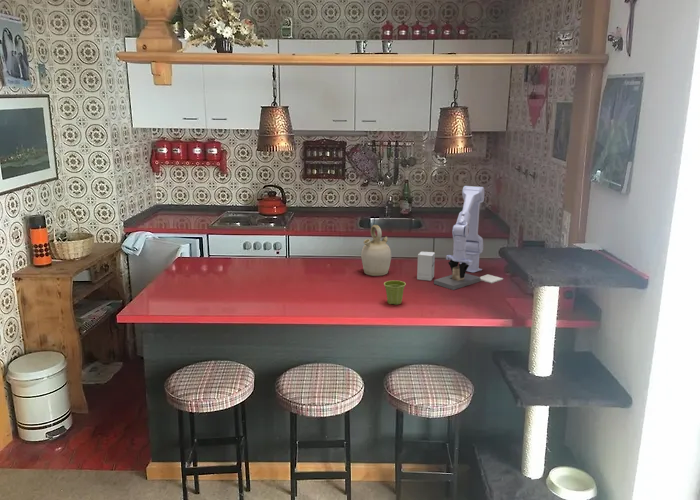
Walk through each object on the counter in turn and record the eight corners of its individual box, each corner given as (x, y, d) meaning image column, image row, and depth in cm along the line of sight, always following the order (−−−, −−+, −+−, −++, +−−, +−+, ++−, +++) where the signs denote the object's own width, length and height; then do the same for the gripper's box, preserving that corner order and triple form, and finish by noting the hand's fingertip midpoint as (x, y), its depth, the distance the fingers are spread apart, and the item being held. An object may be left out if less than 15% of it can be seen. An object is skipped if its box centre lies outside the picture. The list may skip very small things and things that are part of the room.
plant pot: (379, 301, 258) (379, 282, 256) (397, 297, 263) (397, 279, 260) (391, 307, 250) (391, 288, 248) (409, 303, 255) (409, 284, 253)
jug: (365, 278, 291) (365, 228, 285) (357, 269, 306) (357, 222, 299) (395, 275, 294) (395, 227, 288) (386, 267, 309) (386, 220, 303)
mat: (476, 279, 288) (476, 277, 288) (487, 275, 294) (488, 274, 294) (491, 283, 282) (491, 282, 282) (503, 279, 287) (503, 278, 287)
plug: (452, 281, 283) (452, 267, 281) (457, 280, 285) (458, 266, 284) (458, 283, 280) (459, 269, 278) (464, 282, 282) (464, 268, 281)
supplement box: (431, 281, 286) (432, 255, 283) (416, 279, 288) (417, 254, 285) (434, 276, 293) (435, 252, 289) (419, 275, 295) (420, 251, 292)
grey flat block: (433, 283, 281) (434, 279, 281) (460, 275, 294) (461, 271, 293) (453, 290, 272) (453, 285, 272) (480, 281, 285) (480, 277, 284)
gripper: (442, 247, 281) (441, 274, 285) (466, 253, 271) (464, 281, 274) (451, 245, 286) (450, 272, 289) (475, 251, 275) (474, 278, 278)
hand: (458, 276), depth 282 cm, fingers closed on plug, 4 cm apart
